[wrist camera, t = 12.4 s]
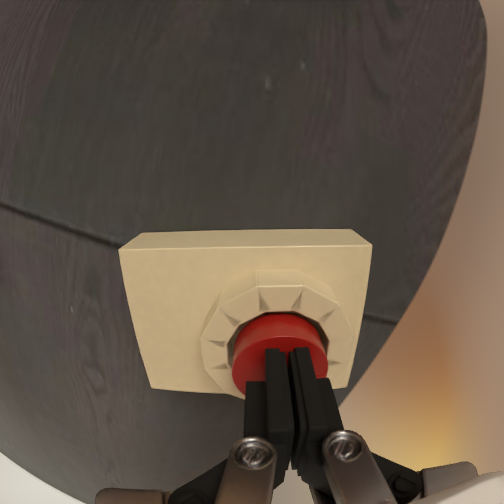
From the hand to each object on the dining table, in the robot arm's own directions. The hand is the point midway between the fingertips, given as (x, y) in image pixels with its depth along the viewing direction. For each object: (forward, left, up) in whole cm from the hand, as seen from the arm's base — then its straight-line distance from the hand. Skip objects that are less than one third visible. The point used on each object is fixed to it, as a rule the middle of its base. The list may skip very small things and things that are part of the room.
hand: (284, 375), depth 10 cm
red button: (0, 0, -2) cm, 2 cm away
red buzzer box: (+2, 0, -7) cm, 7 cm away
